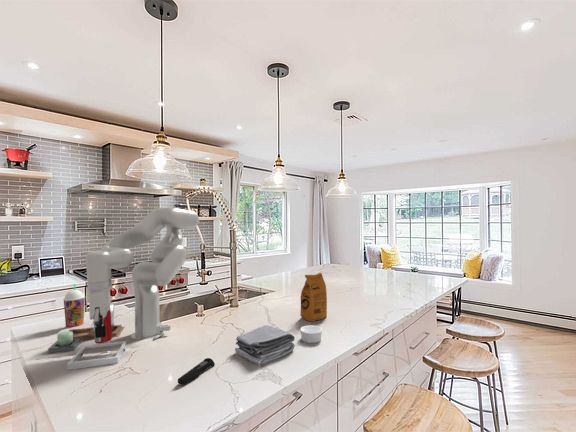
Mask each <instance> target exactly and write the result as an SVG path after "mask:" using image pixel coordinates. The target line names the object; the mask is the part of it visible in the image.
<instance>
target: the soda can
mask: <svg viewBox="0 0 576 432" xmlns="http://www.w3.org/2000/svg"><path fill="white" fill-rule="evenodd" d="M94 316H95V314H94ZM100 317H102V316H99V318H100ZM92 320H93V327H94V337H95V324H94V318H93V319H92ZM99 321H101V322H102V319H99ZM104 325H105V328H106V336H105V337H100V338H96V337H95V340H94V343H95V344H105V343H110V342H111V341H112V339H113V338H112V327H111V312H110V310H109V309H108V312H107V316H106V317H105V318H104Z"/></svg>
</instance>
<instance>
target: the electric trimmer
mask: <svg viewBox="0 0 576 432" xmlns="http://www.w3.org/2000/svg"><path fill="white" fill-rule="evenodd" d="M210 367H215V361H214V360H213V359H212V358H210V357H207V358H204V359H203V360H202V361H201V362H200V363H199V362H198V364H197V365H195V366H194V367H192V368H191V369H190V370H189V371H187V372H186V373H184V374H183V375H181V376H180V377H179V378H177V383H178V384H180V385H186V384H188V383H190V382H191V381H193V380H195V379H197V378H198V377H200V375H201V374H202V373H203V372H205V371H206V370H208V369H209V368H210Z"/></svg>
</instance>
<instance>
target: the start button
mask: <svg viewBox="0 0 576 432" xmlns="http://www.w3.org/2000/svg"><path fill="white" fill-rule="evenodd" d="M56 336H57V340H58V346H65V345H71V344H72V343H73V332H72V331H69V330H67V331H63V332H59V333H57V335H56Z"/></svg>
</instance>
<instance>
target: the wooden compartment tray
mask: <svg viewBox="0 0 576 432" xmlns="http://www.w3.org/2000/svg"><path fill="white" fill-rule="evenodd" d="M124 329H125V326H123V325H122V324H114V332H112V339H113V338H119V337H120V335H121V333H122V332H123V330H124ZM68 331H72V332H73V339H75V338H81V342H86V341H95V337H94V326H93V327H84V328H83V327H82V328H74V329H73V328H72V329H69V330H68Z"/></svg>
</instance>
